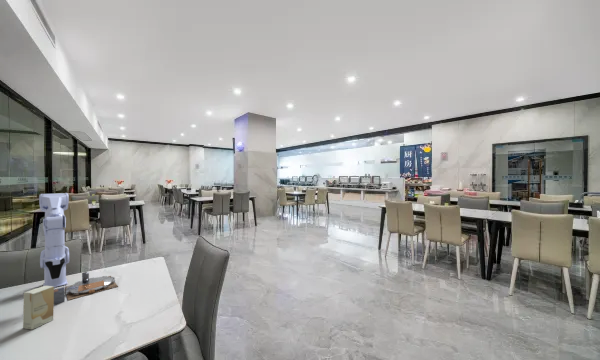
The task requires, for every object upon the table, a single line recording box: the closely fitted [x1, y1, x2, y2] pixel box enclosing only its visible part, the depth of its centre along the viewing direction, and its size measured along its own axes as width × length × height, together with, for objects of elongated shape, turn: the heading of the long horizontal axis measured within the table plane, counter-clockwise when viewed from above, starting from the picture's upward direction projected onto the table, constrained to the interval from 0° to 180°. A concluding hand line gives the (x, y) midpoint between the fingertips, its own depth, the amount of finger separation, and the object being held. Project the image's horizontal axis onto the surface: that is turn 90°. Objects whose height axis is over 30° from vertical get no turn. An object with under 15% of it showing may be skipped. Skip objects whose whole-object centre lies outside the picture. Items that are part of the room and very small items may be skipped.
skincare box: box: [22, 286, 55, 330], centre depth 84 cm, size 6×4×12 cm
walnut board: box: [64, 275, 119, 301], centre depth 112 cm, size 18×17×1 cm
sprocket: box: [65, 271, 116, 295], centre depth 112 cm, size 18×18×6 cm
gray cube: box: [54, 286, 66, 305], centre depth 98 cm, size 4×6×5 cm, turn 137°
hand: (55, 278), depth 99 cm, fingers closed
